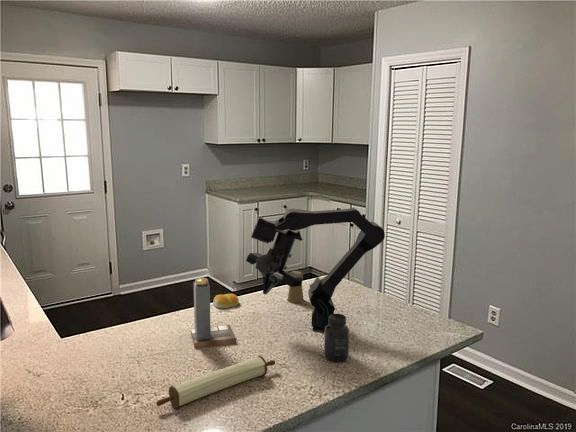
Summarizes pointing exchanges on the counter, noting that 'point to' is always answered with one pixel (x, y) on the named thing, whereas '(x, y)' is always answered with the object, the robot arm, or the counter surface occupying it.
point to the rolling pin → (215, 381)
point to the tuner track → (215, 336)
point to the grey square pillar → (202, 309)
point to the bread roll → (225, 301)
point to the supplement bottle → (336, 339)
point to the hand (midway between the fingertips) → (264, 294)
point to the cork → (296, 292)
